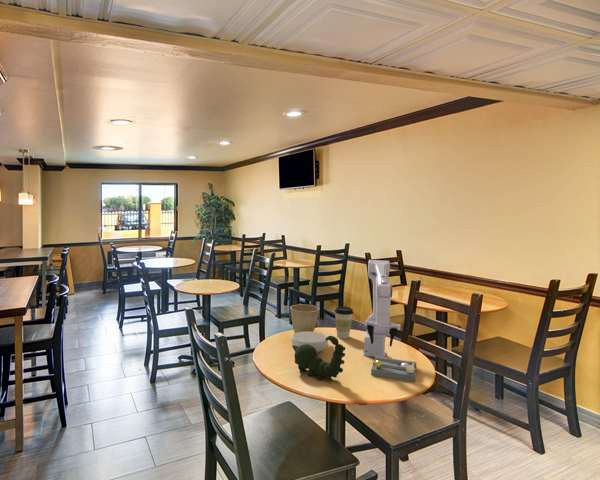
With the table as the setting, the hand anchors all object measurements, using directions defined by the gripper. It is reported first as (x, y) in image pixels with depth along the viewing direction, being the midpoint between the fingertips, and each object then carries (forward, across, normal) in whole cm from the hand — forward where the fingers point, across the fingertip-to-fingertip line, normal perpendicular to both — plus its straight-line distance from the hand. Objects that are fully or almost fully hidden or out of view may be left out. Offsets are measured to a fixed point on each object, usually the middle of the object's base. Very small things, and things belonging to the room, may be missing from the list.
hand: (381, 344), depth 165 cm
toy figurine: (+11, -23, -17) cm, 31 cm away
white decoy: (+6, +12, -6) cm, 15 cm away
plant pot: (+11, -42, +24) cm, 49 cm away
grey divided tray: (+10, +6, -1) cm, 12 cm away
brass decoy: (+6, 0, -6) cm, 9 cm away
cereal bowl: (+11, -34, +8) cm, 36 cm away
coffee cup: (+11, -24, +35) cm, 43 cm away
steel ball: (+8, +10, 0) cm, 13 cm away
